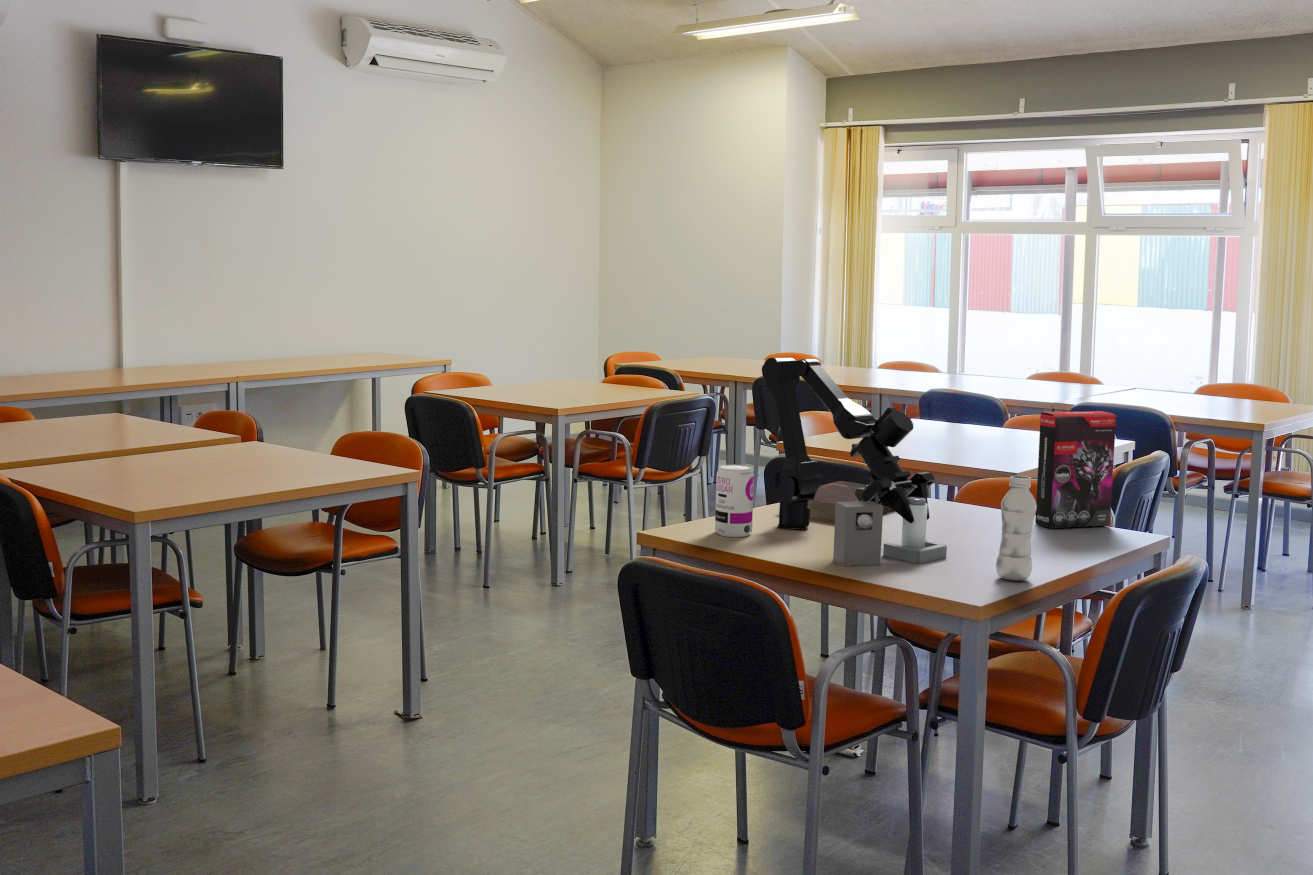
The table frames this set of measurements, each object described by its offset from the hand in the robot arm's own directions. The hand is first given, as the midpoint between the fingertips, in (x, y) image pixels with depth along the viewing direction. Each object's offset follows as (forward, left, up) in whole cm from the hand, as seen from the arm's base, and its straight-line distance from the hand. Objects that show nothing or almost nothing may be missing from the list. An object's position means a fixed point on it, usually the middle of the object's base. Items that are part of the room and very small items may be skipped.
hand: (920, 520), depth 235 cm
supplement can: (-40, +9, -8) cm, 42 cm away
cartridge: (-1, +1, -8) cm, 8 cm away
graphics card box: (+36, +45, -8) cm, 58 cm away
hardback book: (-18, +45, -8) cm, 49 cm away
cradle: (-1, +1, -8) cm, 8 cm away
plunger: (-12, -8, 0) cm, 15 cm away
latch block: (-12, -9, -8) cm, 17 cm away
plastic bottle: (+18, -13, -8) cm, 24 cm away
